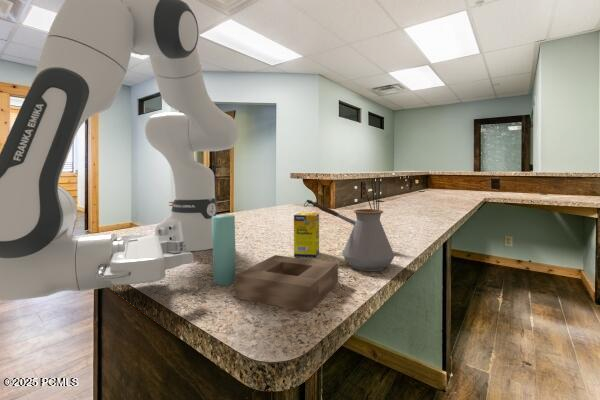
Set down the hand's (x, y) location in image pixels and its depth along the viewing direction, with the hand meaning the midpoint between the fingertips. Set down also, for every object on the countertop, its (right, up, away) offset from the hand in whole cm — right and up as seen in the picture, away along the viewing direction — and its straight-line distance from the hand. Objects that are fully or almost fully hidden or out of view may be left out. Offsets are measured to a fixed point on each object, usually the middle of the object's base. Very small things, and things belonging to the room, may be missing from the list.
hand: (188, 250), depth 58 cm
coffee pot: (+32, -6, +14) cm, 36 cm away
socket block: (+19, -7, -2) cm, 20 cm away
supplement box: (+23, -5, +23) cm, 33 cm away
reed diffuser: (+41, -4, +28) cm, 50 cm away
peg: (+6, -7, +3) cm, 10 cm away
